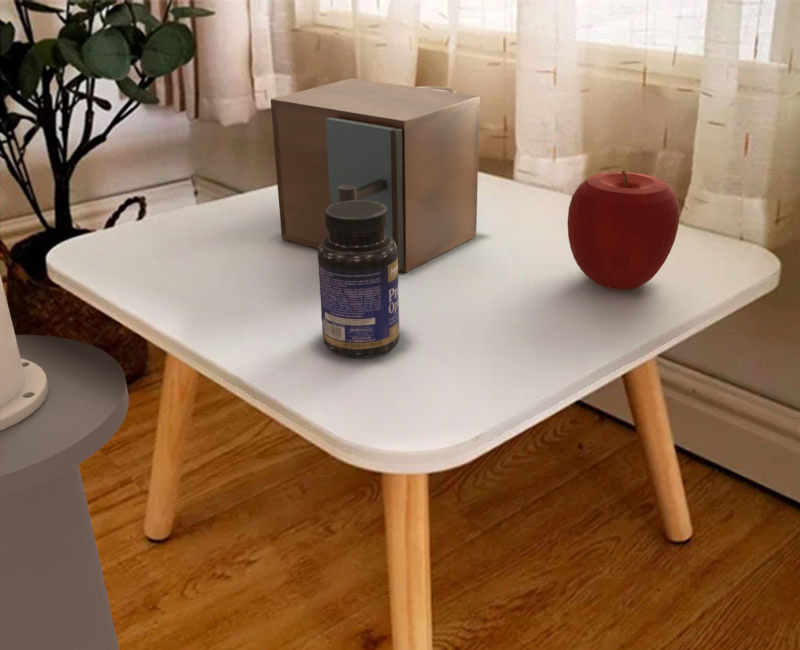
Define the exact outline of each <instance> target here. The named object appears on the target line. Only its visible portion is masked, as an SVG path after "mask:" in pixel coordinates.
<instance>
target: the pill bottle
mask: <svg viewBox="0 0 800 650" xmlns="http://www.w3.org/2000/svg"><path fill="white" fill-rule="evenodd" d="M325 225H326V227H327V229H328V231H329V236H327V237H326V238H325V239H324V240H323V241H322V242H321V243H320V245H319V248H317V263H318V277H319V278H318V279H319V280H318V281H319V296H320V313H321V316H320V318H321V319H320V320H321V326H322V327H321V328H322V339H323V344H324V345H325V346H326V347H327V348H328V349H329V350H330V351H331V352H333V353H335V354H337V355H341V356H343V357H349V358H371V357H376V356H379V355H380V356H381V355H384V354H387V353H389V352H391V351H392V350H393V349H394V348H395V347H396V346H397V345H398V343H399V341H400V298H399V296H400V295H399V294H400V293H399V270H398V251H397V245H396V243H395V241H394V240H393V239H392V238H391V237H390V236H389V235H387V234H385V229H386V227H387V225H388V211H387V207H386V206H385V205H383V204H381V203H378V202H373V201H367V200H366V201H365V200H354V201H344V202H339V203H335V204H333V205H330V206H329V207H327V208H326V210H325Z"/></svg>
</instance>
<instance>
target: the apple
mask: <svg viewBox="0 0 800 650" xmlns="http://www.w3.org/2000/svg"><path fill="white" fill-rule="evenodd" d="M680 214H681V213H680V203H679V200H678V197H677V195H676V193H675V190H673V188H672V187H671V186H670V185H669V184H668V183H667V182H666V181H665V180H663V179H661V178H659V177H657V176H654V175H650V174H646V173H638V172H631V171H626V170H622V171H609V172H600V173H596V174H593V175H591V176H589V177H588V178H586V179H585V180H584V181H582V182H581V183H580V184H579V185H578V186H577V188H576V189H575V191H574V193H573V194H572V196H571V198H570V202H569V206H568V213H567V237H568V242H569V248H570V251H571V253H572V256H573V259H574V261H575V262H576V264H577V266H578V267H579V269H580V270H581V272H582V273H583V274H584V275H585V276H586V277H587V278H588V279H590V280H591V281H592V282H593V283H594V284H596V285H598V286H600V287H604V288H606V289H611V290H618V291H624V290H625V291H627V290H634V289H638V288H640V287H642V286H644V285H645V284H646V283H647V282H649V281H651V280H652V279H653V278H654V277H655V276H656V275H657V274H658V272H659V271H660V270H661V268H662V267H663V265H664V264H665V263H666V260H667V259H668V257H669V255H670V253H671V251H672V249H673V246H674V243H675V241H676V237H677V232H678V230H679V223H680V222H679V221H680V216H681V215H680Z"/></svg>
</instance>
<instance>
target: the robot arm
mask: <svg viewBox="0 0 800 650" xmlns="http://www.w3.org/2000/svg"><path fill="white" fill-rule="evenodd" d="M3 283H4V282H3V280H2V275H1V274H0V431H2V430H4V429H7V428H9V427H11V426H13V425H15V424H17V423H19V422H20V421H22V420H24V419H25V418H27V417H28V416H30V415H31V414H32V413H33V412H35V411H36V410H37V409H38V408H39V407H40V406H41V404H42V403H43V402H44V401H45V399H46V397H47V395H48V388H49V385H48V382H47V378H46V374H45V372H44V371H43V370H42V368H41V367H39V366H38V365H36V364H35V363H33V362H30V361H28V360H25V359H22V358H20V354H19V349H18V345H17V341H16V337H15V335H16V333H15V330H14V329H15V328H14V325H13V321H12V317H11V312H10V308H9V304H8V299H7V295H6V292H5V288H4V284H3Z"/></svg>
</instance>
